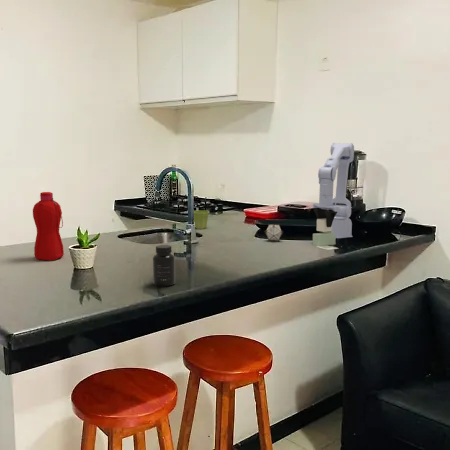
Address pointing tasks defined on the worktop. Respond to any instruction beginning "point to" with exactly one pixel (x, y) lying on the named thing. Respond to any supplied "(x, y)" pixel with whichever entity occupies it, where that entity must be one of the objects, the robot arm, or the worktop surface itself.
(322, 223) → the ivory brick
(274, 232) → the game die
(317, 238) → the sage brick
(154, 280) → the supplement bottle
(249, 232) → the worktop surface
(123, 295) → the worktop surface
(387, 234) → the worktop surface
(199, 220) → the plant pot
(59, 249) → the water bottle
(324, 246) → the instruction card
